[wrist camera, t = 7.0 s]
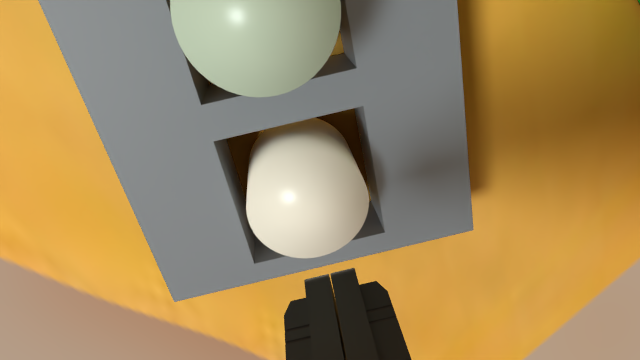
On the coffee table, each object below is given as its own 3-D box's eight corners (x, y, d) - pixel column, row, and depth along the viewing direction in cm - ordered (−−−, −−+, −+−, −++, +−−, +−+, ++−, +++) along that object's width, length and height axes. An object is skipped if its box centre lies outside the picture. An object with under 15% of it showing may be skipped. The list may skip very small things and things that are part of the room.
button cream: (341, 105, 21) (357, 136, 17) (359, 197, 23) (377, 242, 19) (235, 130, 21) (230, 166, 17) (263, 220, 23) (264, 270, 19)
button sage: (309, -89, 16) (322, -101, 12) (335, 52, 18) (354, 77, 14) (170, -57, 16) (143, -59, 12) (213, 81, 18) (202, 113, 14)
